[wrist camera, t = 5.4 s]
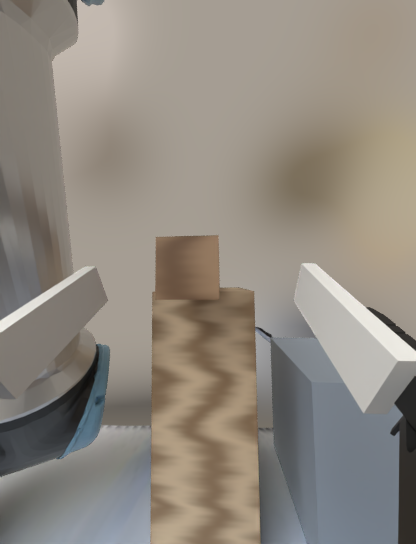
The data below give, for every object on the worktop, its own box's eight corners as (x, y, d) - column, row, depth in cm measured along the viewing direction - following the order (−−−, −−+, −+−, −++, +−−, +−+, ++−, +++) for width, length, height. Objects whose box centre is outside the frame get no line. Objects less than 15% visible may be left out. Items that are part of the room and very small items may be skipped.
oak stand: (150, 566, 20) (152, 291, 21) (181, 439, 36) (181, 288, 37) (261, 576, 19) (254, 291, 21) (242, 442, 35) (239, 287, 37)
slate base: (320, 582, 19) (311, 382, 20) (273, 443, 34) (270, 337, 36) (446, 593, 18) (429, 384, 19) (338, 446, 34) (333, 338, 35)
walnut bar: (155, 299, 11) (155, 236, 11) (200, 287, 37) (200, 268, 37) (219, 299, 11) (218, 235, 11) (219, 287, 37) (219, 268, 37)
